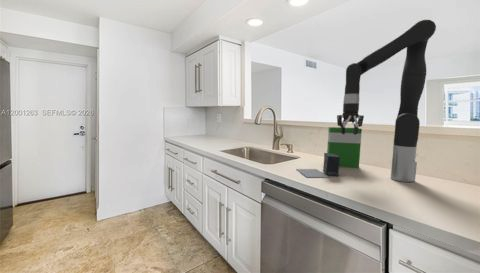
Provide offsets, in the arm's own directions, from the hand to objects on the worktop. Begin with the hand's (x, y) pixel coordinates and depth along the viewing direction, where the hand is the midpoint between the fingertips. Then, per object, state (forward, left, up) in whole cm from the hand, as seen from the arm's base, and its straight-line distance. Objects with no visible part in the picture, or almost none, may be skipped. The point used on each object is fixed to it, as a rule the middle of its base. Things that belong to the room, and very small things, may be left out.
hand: (349, 134), depth 120 cm
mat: (+20, 0, -22) cm, 29 cm away
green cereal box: (-8, -19, -22) cm, 30 cm away
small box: (+9, 0, -22) cm, 24 cm away
